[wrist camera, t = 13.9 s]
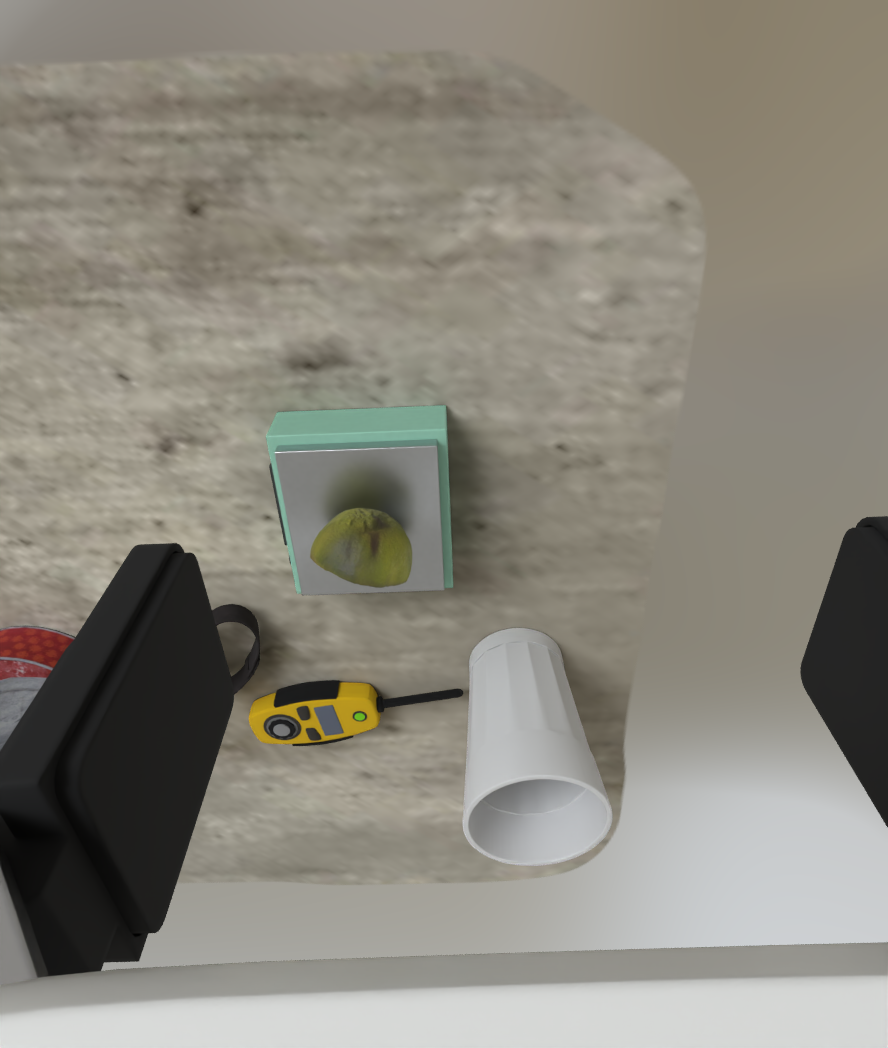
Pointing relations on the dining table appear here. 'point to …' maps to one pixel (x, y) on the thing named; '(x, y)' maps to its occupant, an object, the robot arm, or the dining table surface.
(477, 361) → the dining table surface
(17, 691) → the canned food
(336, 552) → the lime
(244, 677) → the watch
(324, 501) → the scale pan
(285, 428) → the scale
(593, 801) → the cup
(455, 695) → the yellow walkie talkie
